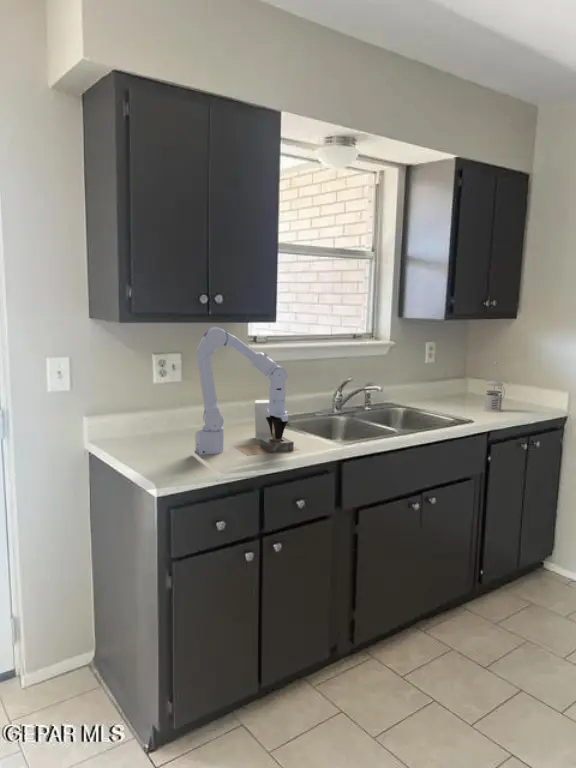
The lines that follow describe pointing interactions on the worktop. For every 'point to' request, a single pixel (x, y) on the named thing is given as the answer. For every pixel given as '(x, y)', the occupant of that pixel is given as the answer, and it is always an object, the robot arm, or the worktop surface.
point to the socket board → (255, 449)
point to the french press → (494, 397)
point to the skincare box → (261, 420)
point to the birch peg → (274, 435)
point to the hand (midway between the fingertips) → (276, 437)
